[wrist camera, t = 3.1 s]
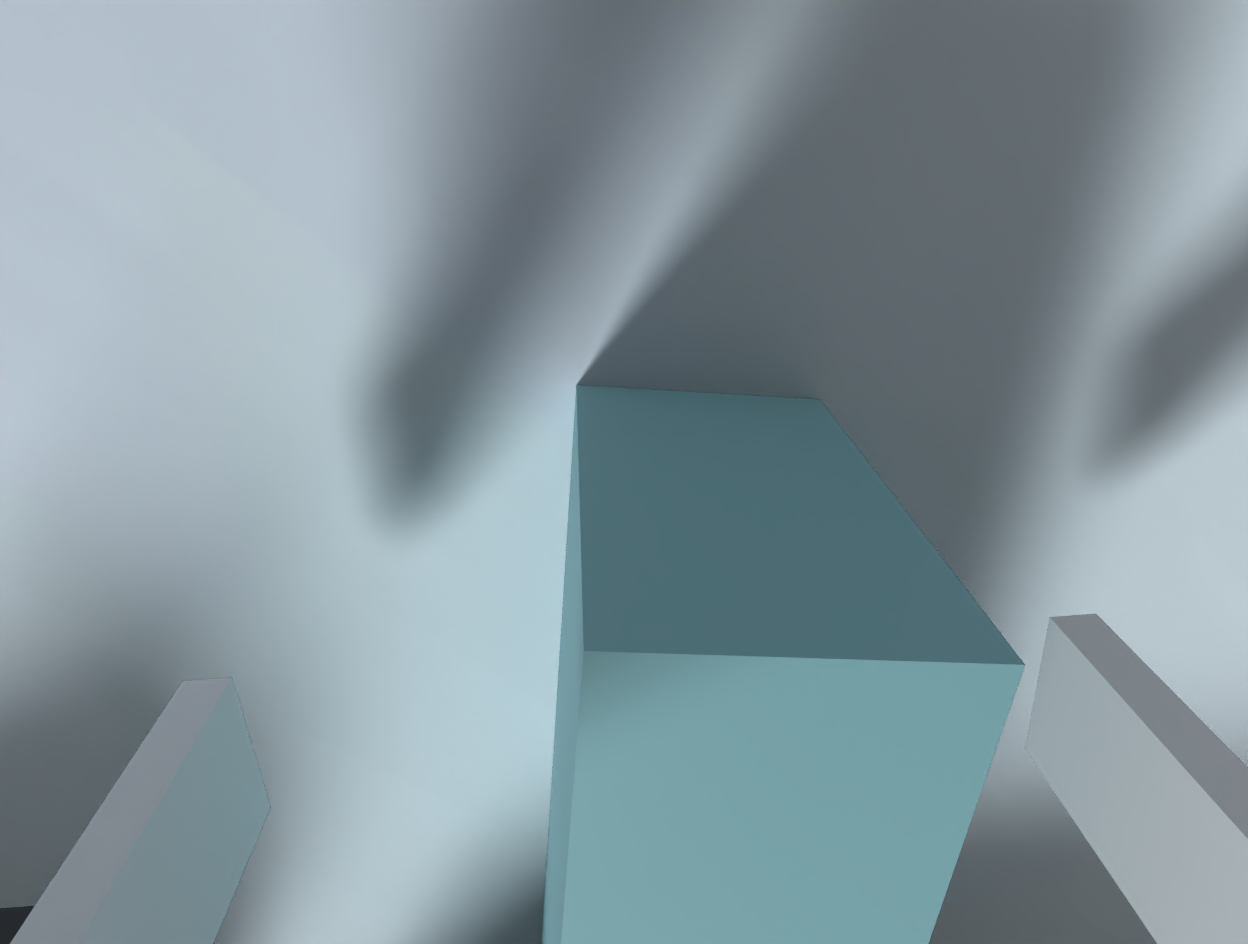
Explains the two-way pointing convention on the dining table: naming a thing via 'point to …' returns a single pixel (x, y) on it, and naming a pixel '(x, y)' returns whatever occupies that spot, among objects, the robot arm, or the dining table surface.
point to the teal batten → (757, 685)
